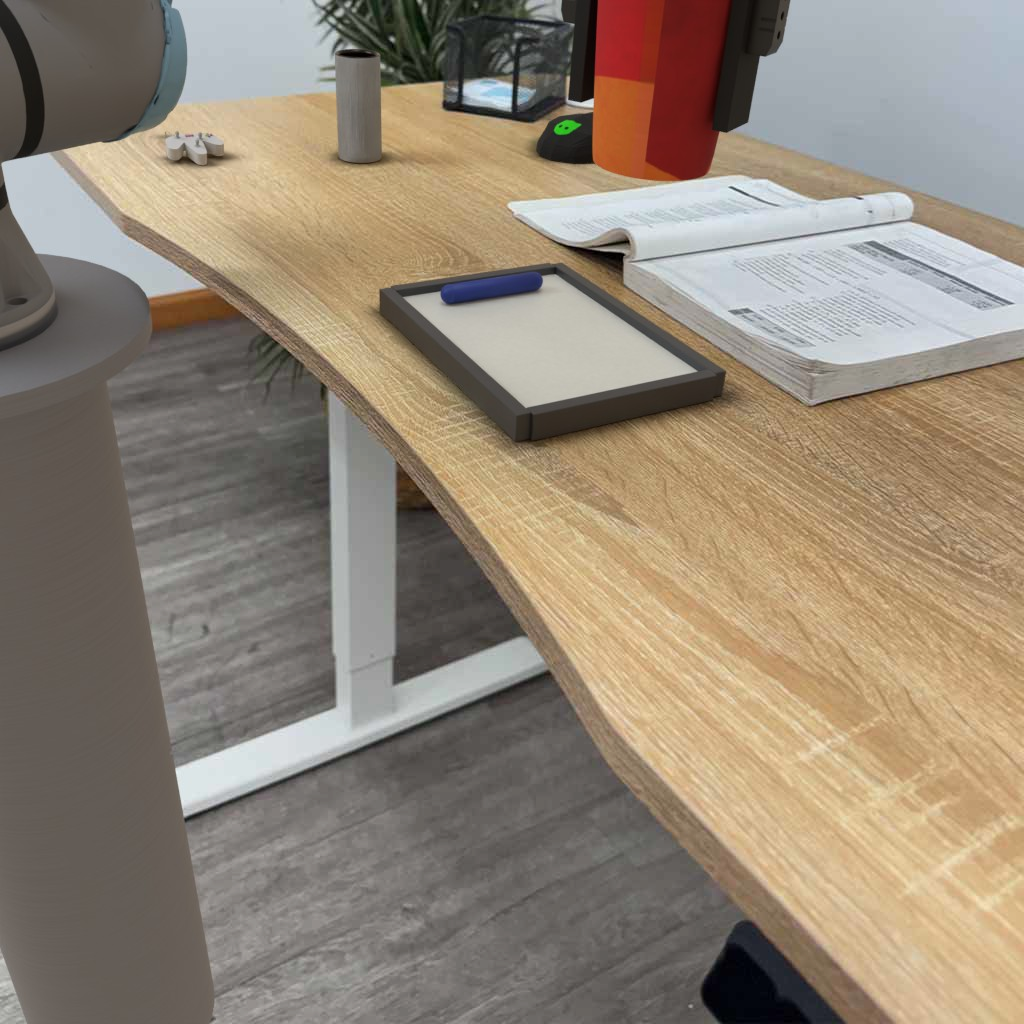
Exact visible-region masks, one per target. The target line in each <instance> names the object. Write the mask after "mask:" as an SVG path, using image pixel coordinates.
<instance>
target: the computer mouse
mask: <svg viewBox="0 0 1024 1024" xmlns="http://www.w3.org/2000/svg"><path fill="white" fill-rule="evenodd" d="M535 151H536V153H537V155H538V157H541V158H544V159H546V160H548V161H554V162H559V163H566V164H573V165H577V164H579V165H580V164H581V165H583V164H595V163H594V161H593V111H590V112H589V111H588V112H586V113H585V112H583V113H582V112H579V113H572V114H565V115H559V116H557V117H555V118H553V119H551V120H549V121H548V122H547V124H546V126H545V128H544V130H543V131H542V133H541V134H540V136H539V138H538V140H537V142H536V150H535Z"/></svg>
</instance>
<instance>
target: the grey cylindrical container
mask: <svg viewBox="0 0 1024 1024" xmlns="http://www.w3.org/2000/svg"><path fill="white" fill-rule="evenodd" d="M334 74H335V99H336V100H335V102H336V126H337V127H336V128H337V130H336V131H337V151H338V158H339V159H340V160H341V161H343V162H347V163H354V164H369V163H370V164H371V163H376V162H378V161H380V160H381V159H382V157H383V156H382V155H383V144H382V143H383V140H382V139H383V138H382V133H383V132H382V85H381V84H382V77H381V54H380V53H379V52H378V51H375V50H371V49H365V48H364V49H363V48H346V49H345V48H344V49H339V50H337V51H335V52H334Z"/></svg>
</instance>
